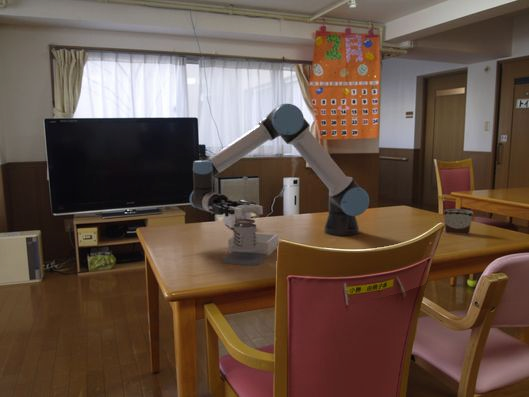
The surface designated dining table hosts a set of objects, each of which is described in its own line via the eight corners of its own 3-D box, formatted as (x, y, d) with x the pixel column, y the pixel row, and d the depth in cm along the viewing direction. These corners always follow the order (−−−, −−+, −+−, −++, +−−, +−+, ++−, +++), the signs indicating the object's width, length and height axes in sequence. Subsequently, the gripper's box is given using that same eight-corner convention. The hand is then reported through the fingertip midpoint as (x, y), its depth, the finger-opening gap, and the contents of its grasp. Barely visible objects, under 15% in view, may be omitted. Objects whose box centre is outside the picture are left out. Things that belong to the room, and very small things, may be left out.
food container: (472, 232, 188) (473, 209, 186) (472, 235, 182) (474, 212, 181) (442, 229, 193) (443, 207, 192) (441, 232, 188) (442, 210, 186)
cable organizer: (252, 228, 200) (251, 203, 198) (230, 230, 196) (229, 205, 195) (243, 222, 214) (242, 199, 212) (222, 223, 210) (222, 200, 209)
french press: (236, 253, 141) (236, 178, 138) (225, 245, 152) (225, 175, 148) (263, 250, 145) (264, 177, 142) (250, 242, 156) (251, 174, 152)
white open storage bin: (278, 246, 166) (278, 234, 165) (268, 256, 153) (268, 242, 152) (241, 244, 170) (241, 231, 170) (228, 252, 158) (228, 239, 157)
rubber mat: (267, 256, 152) (267, 253, 152) (257, 265, 142) (257, 262, 142) (233, 253, 156) (233, 251, 156) (221, 262, 146) (221, 259, 146)
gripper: (239, 210, 167) (275, 219, 149) (191, 216, 155) (225, 226, 137) (238, 191, 166) (275, 197, 148) (191, 195, 154) (225, 203, 136)
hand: (251, 211), depth 143 cm, fingers closed on french press, 8 cm apart
